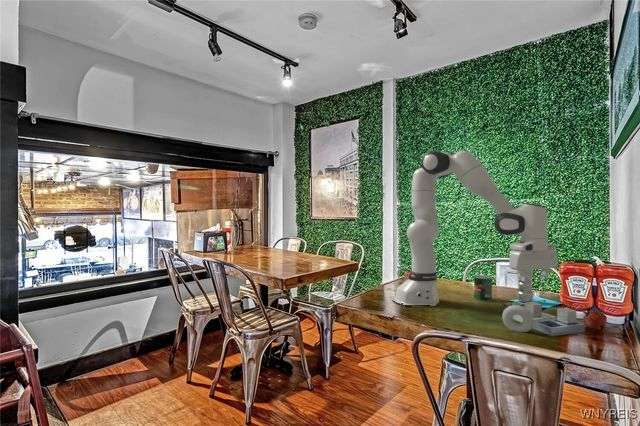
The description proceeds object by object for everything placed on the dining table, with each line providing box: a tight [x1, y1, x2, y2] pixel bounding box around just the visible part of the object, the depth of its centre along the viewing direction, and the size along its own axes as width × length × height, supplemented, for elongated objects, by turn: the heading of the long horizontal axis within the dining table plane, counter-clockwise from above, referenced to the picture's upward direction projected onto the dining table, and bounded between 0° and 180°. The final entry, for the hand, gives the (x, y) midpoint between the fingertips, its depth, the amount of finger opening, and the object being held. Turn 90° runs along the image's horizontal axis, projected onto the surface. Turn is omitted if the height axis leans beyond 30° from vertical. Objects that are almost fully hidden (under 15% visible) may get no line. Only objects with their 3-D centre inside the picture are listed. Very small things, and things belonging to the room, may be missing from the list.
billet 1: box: [524, 301, 543, 319], centre depth 133 cm, size 4×4×7 cm
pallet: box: [532, 318, 586, 337], centre depth 123 cm, size 15×8×4 cm, turn 105°
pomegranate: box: [582, 309, 608, 330], centre depth 126 cm, size 7×7×10 cm
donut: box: [501, 305, 534, 333], centre depth 123 cm, size 10×4×10 cm, turn 53°
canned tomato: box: [473, 274, 493, 302], centre depth 166 cm, size 8×8×11 cm
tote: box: [512, 311, 557, 323], centre depth 133 cm, size 13×9×3 cm
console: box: [502, 301, 525, 311], centre depth 143 cm, size 7×7×4 cm
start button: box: [512, 301, 522, 306], centre depth 143 cm, size 3×3×3 cm
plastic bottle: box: [516, 269, 534, 303], centre depth 162 cm, size 6×7×20 cm
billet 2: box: [556, 307, 577, 325], centre depth 124 cm, size 4×4×7 cm
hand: (533, 280), depth 133 cm, fingers open, 8 cm apart
